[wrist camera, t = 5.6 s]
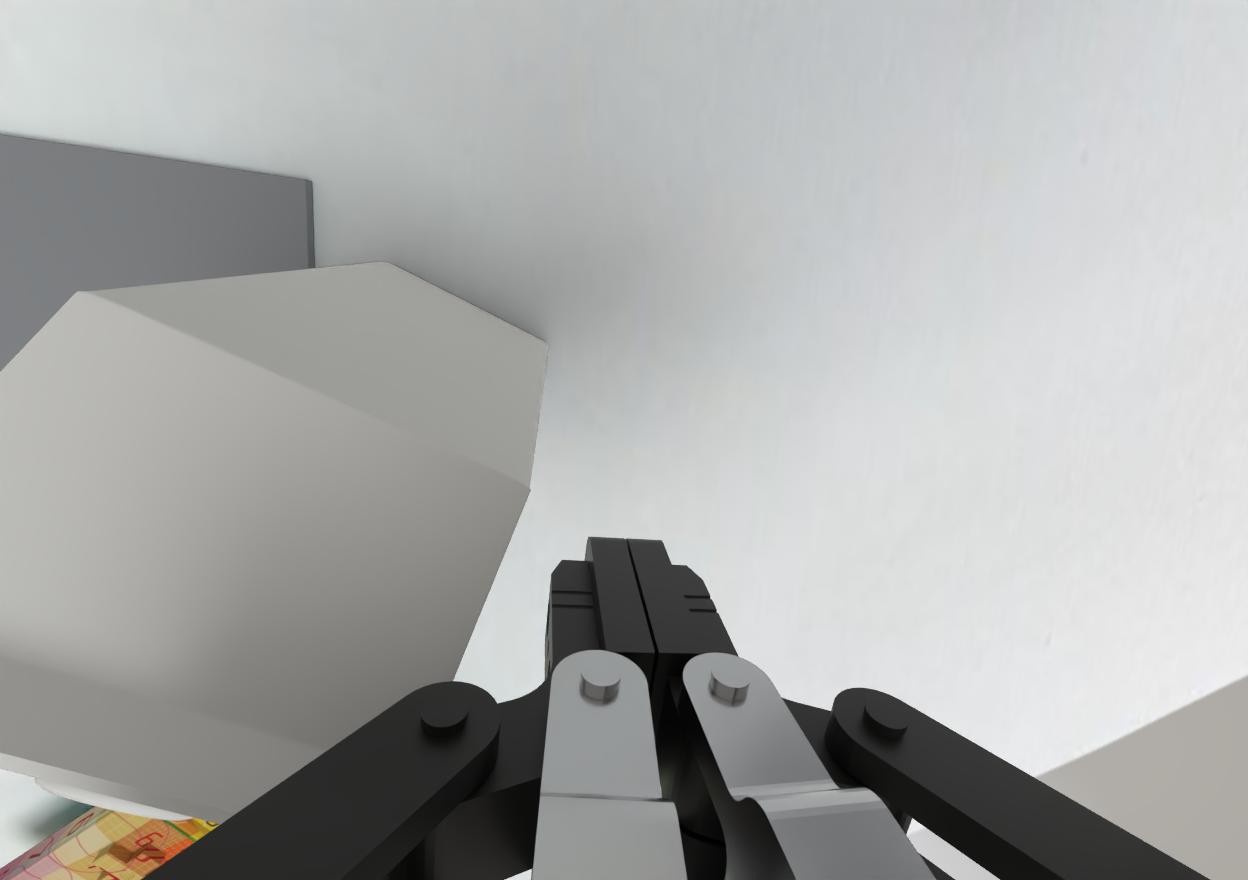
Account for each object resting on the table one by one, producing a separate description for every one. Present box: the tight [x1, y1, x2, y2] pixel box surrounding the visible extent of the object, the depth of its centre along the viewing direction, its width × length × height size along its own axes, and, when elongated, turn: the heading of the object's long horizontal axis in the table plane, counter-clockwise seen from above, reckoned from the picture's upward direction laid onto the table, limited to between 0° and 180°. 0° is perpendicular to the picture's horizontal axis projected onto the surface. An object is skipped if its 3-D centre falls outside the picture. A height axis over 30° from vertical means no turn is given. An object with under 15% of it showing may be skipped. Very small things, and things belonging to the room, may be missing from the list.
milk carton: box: [0, 261, 549, 824], centre depth 15 cm, size 7×7×19 cm
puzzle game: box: [0, 806, 220, 880], centre depth 28 cm, size 12×5×20 cm
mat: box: [0, 134, 315, 372], centre depth 21 cm, size 14×20×1 cm
